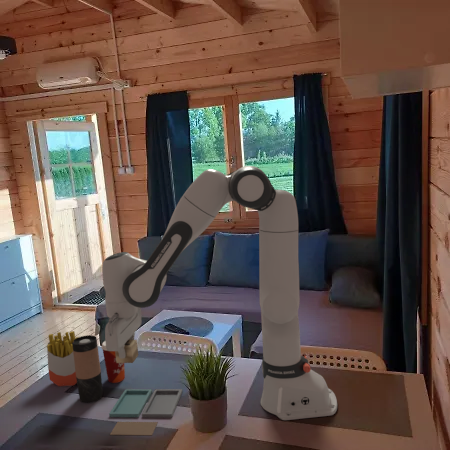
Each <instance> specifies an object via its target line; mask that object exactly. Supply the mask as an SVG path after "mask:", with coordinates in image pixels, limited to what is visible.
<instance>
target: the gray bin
mask: <svg viewBox="0 0 450 450" xmlns="http://www.w3.org/2000/svg"><path fill="white" fill-rule="evenodd" d="M182 394H183V389H182V388H181V389H180V388H178V389H177V388H175V389H174V388H173V389H172V388H170V389H169V388H167V389H165V388H163V389H161V388H160V389H157V388H156V389H154V391H152V394H151V396H150V398H149V399H148V401H147V403H146V405H145V407H144V409H143V410H142V412H141V417H142V418H165V419H166V418H169V419H170V418H173V416H174V413H175V411H176V409H177V406H178V403H179V401H180V400H181V396H182Z"/></svg>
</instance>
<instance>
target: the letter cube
mask: <svg viewBox="0 0 450 450" xmlns="http://www.w3.org/2000/svg"><path fill="white" fill-rule="evenodd" d="M124 345H125V347H124V349H125V350H126V354H127V355H126V357H125V358H119V353H118V351H115V354H116V363H124V364H133V363H134V362H135V361H136V359H137V358H138V356H139V351H138V350H139V349H138V340H137V339H134V340H128V341H127V342H126V343H125V344H124Z"/></svg>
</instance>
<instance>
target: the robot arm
mask: <svg viewBox="0 0 450 450" xmlns="http://www.w3.org/2000/svg"><path fill="white" fill-rule="evenodd" d="M230 202H235V203H237V204H238V205H240V206H242V207H245V208H247V209H251V210H255V211H257V213H258V218H259V219H258V221H259V222H258V223H259V224H258V225H259V226H258V229H259V230H258V232H259V235H258V239H259V241H258V242H259V246H258V247H259V248H258V250H259V251H258V252H259V253H258V254H259V257H258V258H259V259H258V261H259V267H258V268H259V270H258V271H259V276H258V277H259V278H258V279H259V283H258V284H259V307H260V315H261V338H262V355H263V356H262V360H261V370H262V372H261V373H262V376H263V387H262V394H261V398H260V405H261V407H262V409H264V410H265V411H266V412H267V413H270V414H272V415H275V416H276V417H278V418H279V420H282V421H290V420H299V419H300V420H301V419H310V418H318V417H327V416H328V417H330V416H334V414H336V412H337V410H338V400H337V397H336V394H335V393H334V391H333V390H332V389H330V388H329V387H328V384H327V382H326V380H325V378H324V377H323V376H322V375H321V374H320V373H317V372H316V371H315V370H312V368H311V366H310V364H309V361H308V359H307V356H306V355H304V356H303V355H302V354H301V353H302V351H301V331H300V319H299V309H300V302H301V301H300V299H301V298H300V268H299V267H300V266H299V264H300V263H299V214H298V213H299V212H298V207H297V201H296V198H295V196H294V195H293V194H292V193H291V192H289V191H287V190H284V189H275V187H274V186H273V184H272V183H271V181H270V178H269V177H268V176H267V174H266V173H265V172H264V171H263V170H262V169H260V168H259V167H257V166H254V165H246V166H242V167H240V168H238V169H236V170H234V171H233V172H230V173H228V174H225V173H223V172H221V171H219V170H217V169H211V168H209V169H206V170H203V171H202V173H200V174H199V175H198V176H197V177H196V178H195V180H194V181H193V182H192V183H191V184H190V185H189V187H187V189H186V191H184V193H183V195H182V196H181V197H180V199H179V201H178V203H177V204H176V206H175V209H174V211H173V212H172V215H171V217H170V220H169V221H168V222H169V223H168V224H167V228H166V230H165V232H164V234H163V237H162V238H161V240H160V241H159V243H158V245H157V246H156V248H155V249H154V250H153V252H152V253H151V255H150V256H149V257H148V259H147V260H146V259H142V258H139V257H136V256H134V255H132V254H131V253H129V252H127V251H122V252H116V253H113V254H111V255H109V256H108V257H106V258H105V259H104V260H103V262H102V267H101V268H102V270H101V271H102V286H103V288H104V291H105V298H104V302H105V309H106V316H107V317H108V318H109V319H108V322H107V323H106V325H105V329H104V334H105V335H104V337H105V339H104V341H106V349H107V350H108V351H118V353H119V358H125V357H126V355H127V354H126V350H125V349H124V347H125V345H124V344H125V343H126V342H127V341H128V340H135V336H136V335H135V334H136V333H135V332H136V331H137V330H138V329H139V328H140V326H141V325H142V309H143V308H144V309H145V308H146V309H147V308H149V307H151V306H153V305H154V304H156V303H157V301H158V299H159V297H160V294H161V292H162V290H163V288H164V286H165V285H166V282H167V278H168V275H167V274H168V272H169V271H170V270H171V268H172V266H173V265H174V264H175V263H176V261H177V259H178V258H179V257H180V255H181V254H182V253H183V251H184V250H185V249H186V248H187V247H188V246H190V244H192V243H193V242H194V241H195V240H196V239H197V238H199V236H201V234H203V232H205V231H206V230H207V229H208V227H209V226H210V225H211V224H212V223H213V221H214V220H215V218H216V217H217V216H218V214H219V212H220V211H221V210H222V209H223V207H224V206H225V205H226V204H228V203H230Z"/></svg>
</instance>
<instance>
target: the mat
mask: <svg viewBox="0 0 450 450" xmlns="http://www.w3.org/2000/svg"><path fill="white" fill-rule="evenodd" d="M158 424H159V422H158V421H117V422H116V423H115V425H114V427H113V429H112V430H111V432H110V434H109V436H148V437H149V436H153V435H154V432H155V430H156V427H157V425H158Z"/></svg>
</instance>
